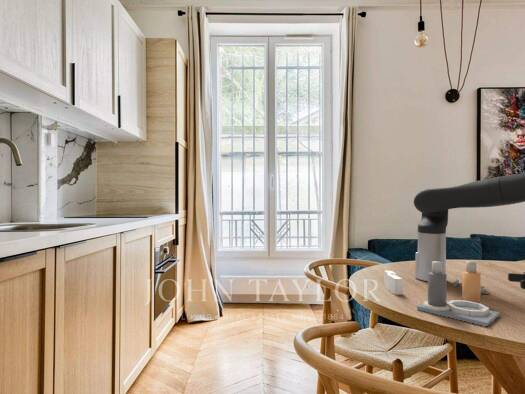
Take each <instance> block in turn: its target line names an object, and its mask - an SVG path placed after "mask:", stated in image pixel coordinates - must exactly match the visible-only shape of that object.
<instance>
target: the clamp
mask: <svg viewBox="0 0 525 394" xmlns="http://www.w3.org/2000/svg"><path fill="white" fill-rule="evenodd" d="M458 286H462V282H460V281H459V279H455V281H453V287H455V288H456V287H458ZM481 294H483V295H489V290H487V289H485V286H483V285H482V286H481Z"/></svg>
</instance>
